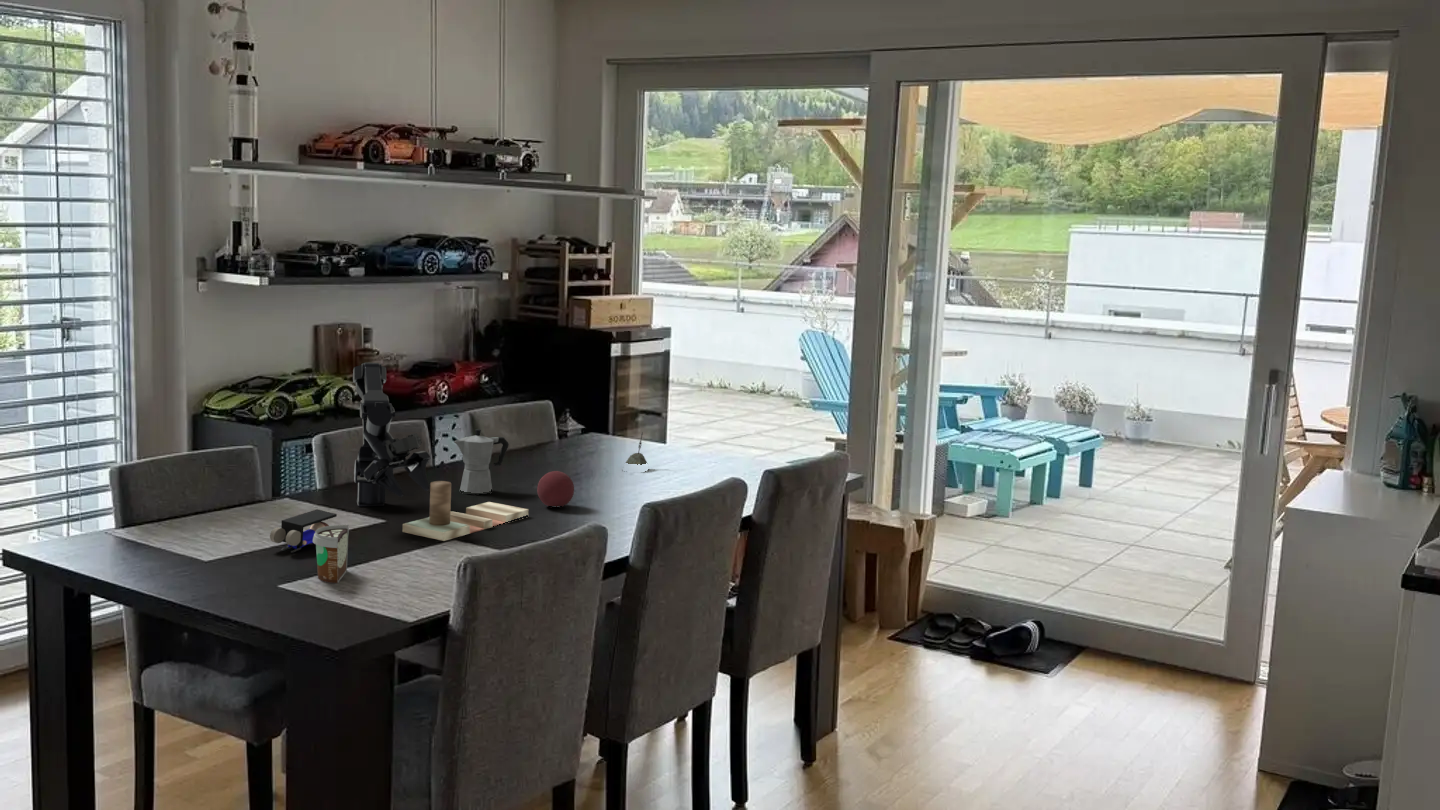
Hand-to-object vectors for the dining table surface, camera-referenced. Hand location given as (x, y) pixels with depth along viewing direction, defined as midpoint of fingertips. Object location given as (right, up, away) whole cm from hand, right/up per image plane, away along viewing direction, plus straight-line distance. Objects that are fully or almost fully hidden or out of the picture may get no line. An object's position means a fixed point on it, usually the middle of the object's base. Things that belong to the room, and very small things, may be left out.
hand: (415, 492), depth 316 cm
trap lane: (+12, -8, +7) cm, 16 cm away
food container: (-8, -15, -45) cm, 48 cm away
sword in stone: (+49, +1, +89) cm, 102 cm away
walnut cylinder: (+7, -7, -3) cm, 10 cm away
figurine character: (-20, -11, -23) cm, 33 cm away
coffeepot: (+8, -3, +45) cm, 45 cm away
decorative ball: (+31, -6, +31) cm, 44 cm away
